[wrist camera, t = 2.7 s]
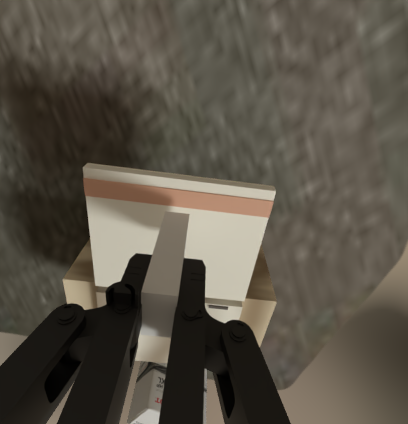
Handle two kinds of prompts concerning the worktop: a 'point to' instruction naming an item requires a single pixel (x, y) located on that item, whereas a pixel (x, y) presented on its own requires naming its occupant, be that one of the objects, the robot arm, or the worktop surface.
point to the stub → (180, 203)
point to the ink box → (152, 394)
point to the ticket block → (217, 308)
